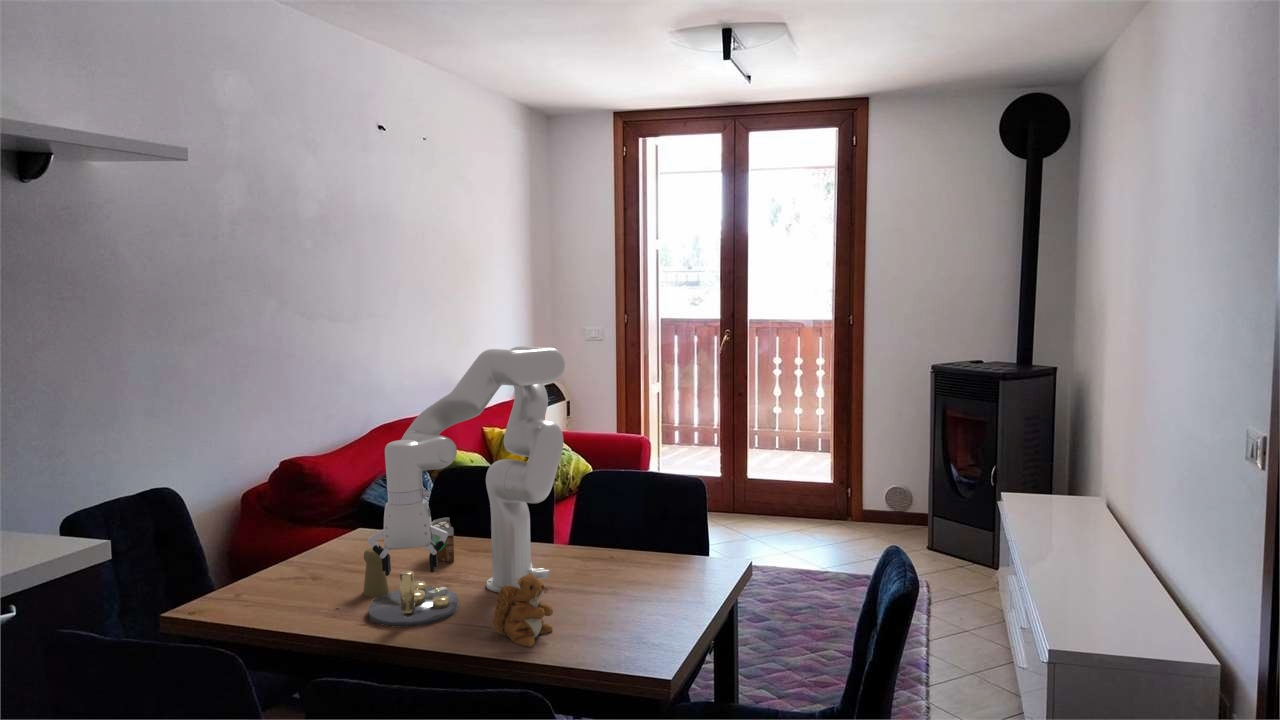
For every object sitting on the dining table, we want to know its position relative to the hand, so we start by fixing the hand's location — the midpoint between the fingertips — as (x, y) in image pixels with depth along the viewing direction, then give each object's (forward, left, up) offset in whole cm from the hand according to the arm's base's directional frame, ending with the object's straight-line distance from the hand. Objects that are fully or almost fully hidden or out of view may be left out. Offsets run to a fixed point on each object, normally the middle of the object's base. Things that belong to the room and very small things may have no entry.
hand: (410, 572), depth 196 cm
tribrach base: (+1, -7, -11) cm, 14 cm away
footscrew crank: (+1, -4, -9) cm, 10 cm away
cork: (+12, -21, -12) cm, 27 cm away
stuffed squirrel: (-24, +10, -12) cm, 29 cm away
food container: (-1, -46, -12) cm, 48 cm away
